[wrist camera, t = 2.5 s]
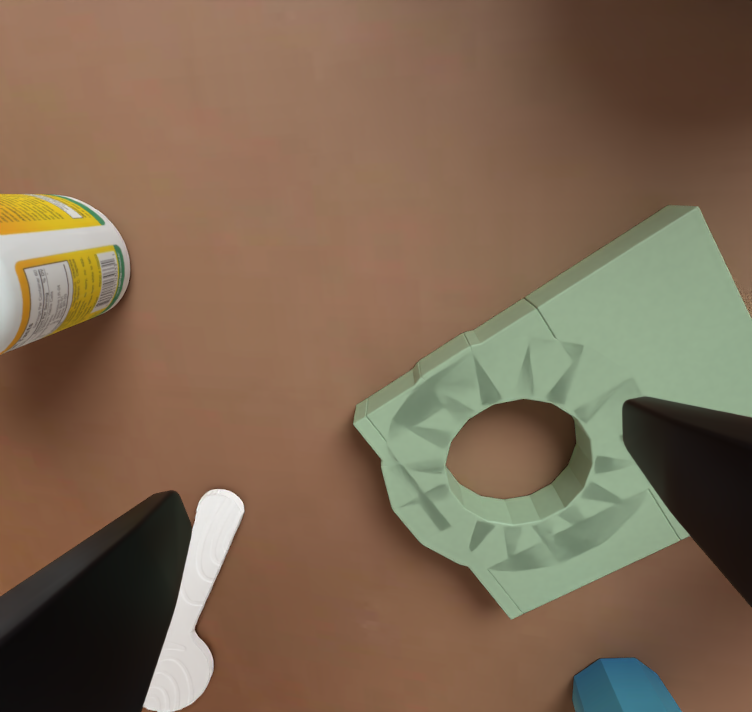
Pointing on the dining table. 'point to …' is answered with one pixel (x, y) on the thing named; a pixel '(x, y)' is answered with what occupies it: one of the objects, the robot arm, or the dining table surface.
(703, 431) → the robot arm
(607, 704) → the cup
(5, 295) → the supplement bottle
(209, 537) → the spoon
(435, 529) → the holder plate
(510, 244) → the dining table surface
